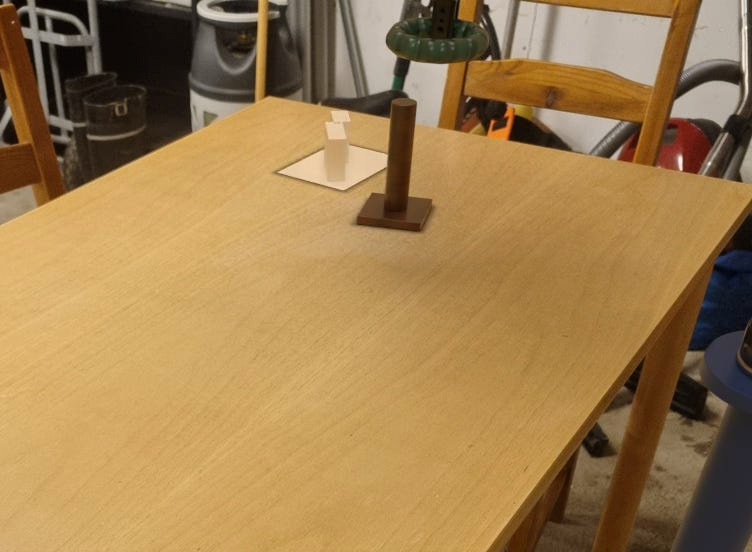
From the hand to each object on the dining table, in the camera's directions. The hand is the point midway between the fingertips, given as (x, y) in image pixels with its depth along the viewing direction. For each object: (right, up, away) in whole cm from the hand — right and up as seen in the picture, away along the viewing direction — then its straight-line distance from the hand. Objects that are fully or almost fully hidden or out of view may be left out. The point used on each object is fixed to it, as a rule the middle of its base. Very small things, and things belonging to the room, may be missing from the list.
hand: (442, 39), depth 96 cm
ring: (-1, -2, -3) cm, 4 cm away
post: (-2, -8, +23) cm, 24 cm away
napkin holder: (-8, +5, +35) cm, 36 cm away
